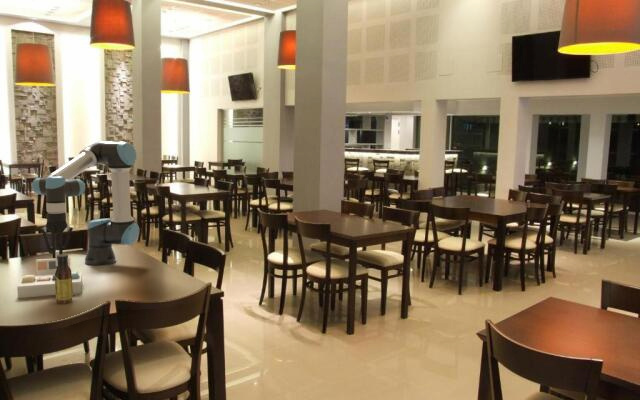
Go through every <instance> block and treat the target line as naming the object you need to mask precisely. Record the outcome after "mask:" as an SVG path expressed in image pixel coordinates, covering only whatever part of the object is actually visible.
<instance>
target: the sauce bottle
mask: <svg viewBox="0 0 640 400" xmlns="http://www.w3.org/2000/svg"><path fill="white" fill-rule="evenodd" d="M68 258H69V254H68V253H62V254H60V255H57V260H58V267H57V269H56V272H55V290H56V295H55V299H56V300H55V301H56V303H57V304H61V305H62V304H70V303H71V302H72V301H73V296H74V295H73V291H72V276H71V272H72V269H71V267H70V268H69V266H68Z"/></svg>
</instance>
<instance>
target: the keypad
mask: <svg viewBox="0 0 640 400" xmlns="http://www.w3.org/2000/svg"><path fill="white" fill-rule="evenodd" d="M78 273H79V279H72V291H73V294H82V291H83V290H82V289H83V288H82V287H83V272H82V271H81V272H78ZM40 277H50V281H40V282H38V279H39V278H40ZM22 278H23V276H22V277H21V279H20V281H18V282H19V283H18V285H17V286H16V287H17V299H22V298H25V299H26V298H36V297H37V298H38V297H47V296H50V297H51V296H56V290H55V280H54V281H53V274H52V275H37V276H36V275H35V282H27V283H23V281H22Z"/></svg>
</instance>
